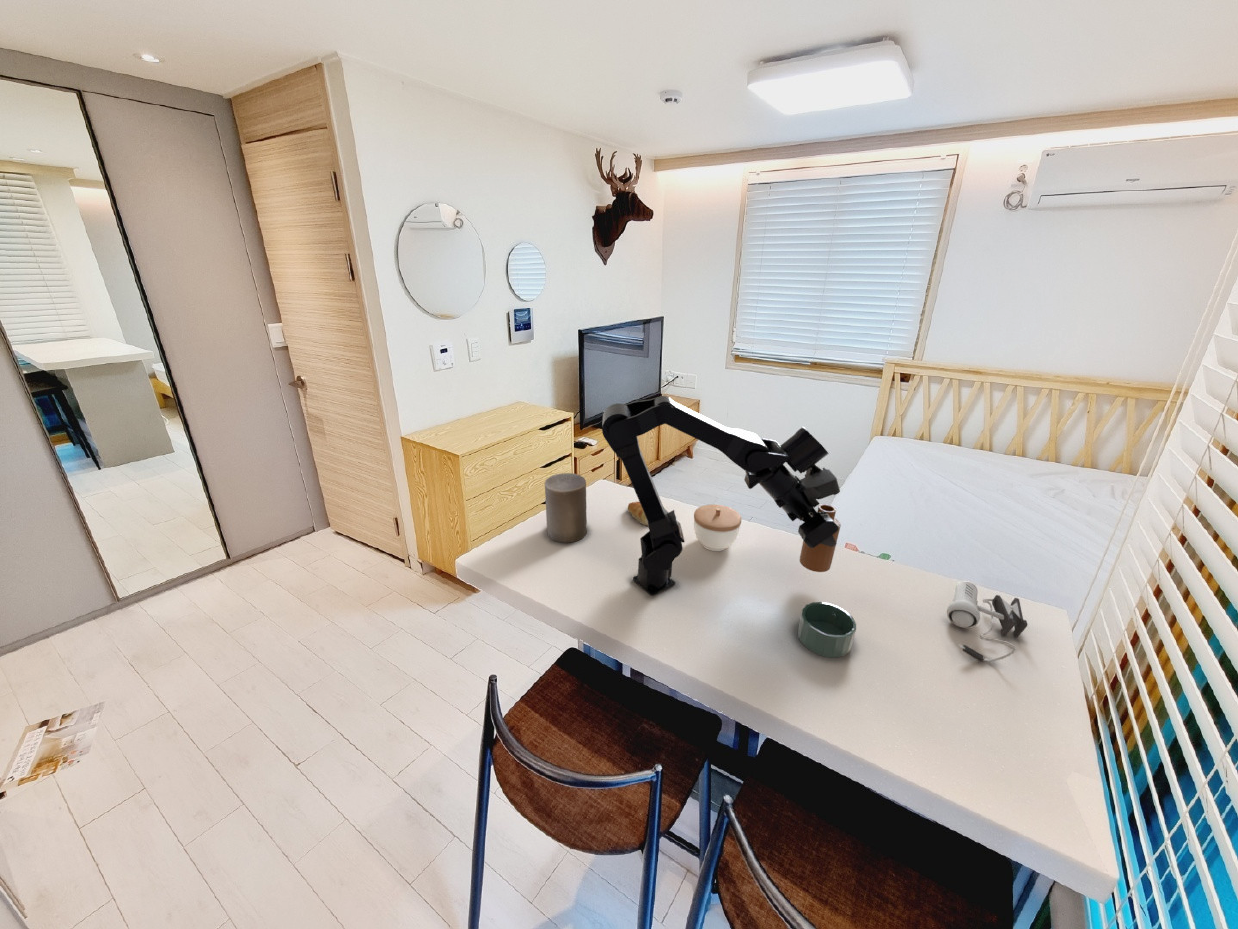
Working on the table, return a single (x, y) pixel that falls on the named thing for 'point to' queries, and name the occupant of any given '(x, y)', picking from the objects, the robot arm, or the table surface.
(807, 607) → the cup
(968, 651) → the clip-on lamp
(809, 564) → the bottle
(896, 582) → the table surface
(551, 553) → the table surface
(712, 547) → the trinket box
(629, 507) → the pastry
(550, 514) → the pillar candle
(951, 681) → the table surface
